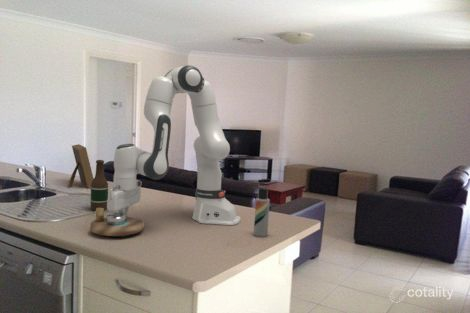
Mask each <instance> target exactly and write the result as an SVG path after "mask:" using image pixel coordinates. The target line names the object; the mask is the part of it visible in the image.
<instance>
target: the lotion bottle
mask: <svg viewBox="0 0 470 313" xmlns="http://www.w3.org/2000/svg"><path fill="white" fill-rule="evenodd" d="M268 196H269V188H268V187H264V186H259V188H258V195H257V197H256V198H255V206H254V208H255V209H254V210H255V211H254V221H253V222H254V224H253V235H254V236H255V237H260V238H263V237H264V238H265V237H267V236H268V235H269V234H268V232H269V220H270V219H269V216H270V202H271V201H270V198H268Z"/></svg>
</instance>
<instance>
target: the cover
mask: <svg viewBox="0 0 470 313" xmlns="http://www.w3.org/2000/svg"><path fill="white" fill-rule="evenodd" d="M106 218H107V224H108V225H112V226H118V225H123V224H125V215H124V214H120V213H119V211H116V212H112V213H110V214H107V215H106Z"/></svg>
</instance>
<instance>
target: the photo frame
mask: <svg viewBox="0 0 470 313" xmlns="http://www.w3.org/2000/svg"><path fill="white" fill-rule="evenodd" d="M71 148H72V152H73V156H74V161H75V164H76V165H75V167H74V169H73V172H72V174H71V175H70V176H71V177H69V181H68V185H67V188H68V189H69V188H71V187H73V184H74V181H75V178H76V175H77V172H78V175H79V179H80V183H81V184H82V185H84V187H86V188H87V189H91V183H92V181H93V179H94V176H93V172H92V171H93V170H92V167H91V163H90V158H89V155H88V154H89V153H88V151H87V147H86V146H84V145H81V144H80V143H78V144H74V145H71Z"/></svg>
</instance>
